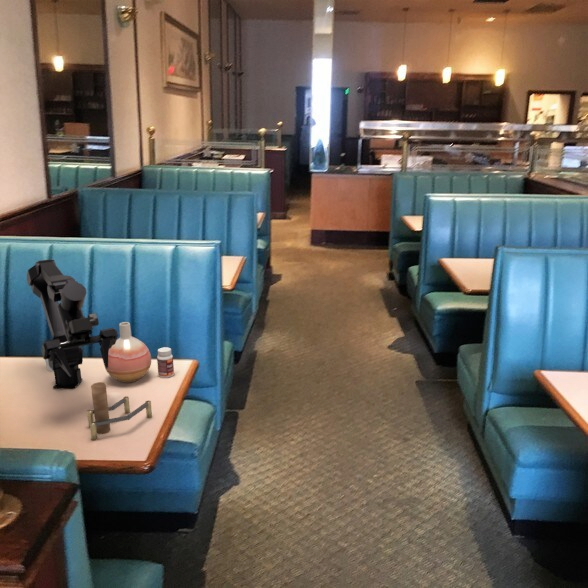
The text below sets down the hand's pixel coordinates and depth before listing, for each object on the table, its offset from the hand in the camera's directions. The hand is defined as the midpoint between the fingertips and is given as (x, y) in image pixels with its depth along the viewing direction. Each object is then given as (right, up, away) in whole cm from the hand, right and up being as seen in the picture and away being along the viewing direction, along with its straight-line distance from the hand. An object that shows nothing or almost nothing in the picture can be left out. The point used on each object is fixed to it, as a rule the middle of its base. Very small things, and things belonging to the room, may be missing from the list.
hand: (89, 371), depth 161 cm
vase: (+3, -6, +28) cm, 29 cm away
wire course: (+7, -14, 0) cm, 16 cm away
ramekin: (-21, -4, +38) cm, 44 cm away
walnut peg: (+4, -15, -2) cm, 15 cm away
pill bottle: (+14, -5, +31) cm, 34 cm away
